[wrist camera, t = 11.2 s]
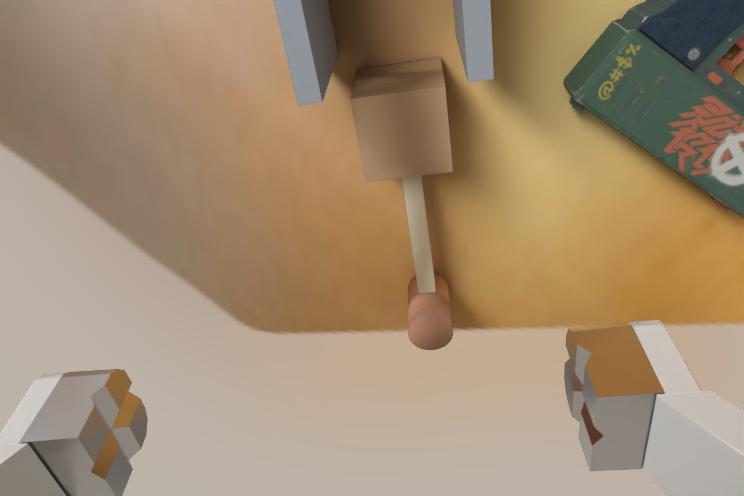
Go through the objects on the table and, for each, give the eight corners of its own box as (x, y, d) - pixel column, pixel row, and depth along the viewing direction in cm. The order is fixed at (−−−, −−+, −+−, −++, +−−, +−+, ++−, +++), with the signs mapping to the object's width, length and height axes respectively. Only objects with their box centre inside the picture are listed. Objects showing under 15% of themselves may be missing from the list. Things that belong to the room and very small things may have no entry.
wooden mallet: (397, 305, 46) (397, 352, 42) (357, 69, 36) (350, 99, 32) (463, 299, 45) (468, 347, 41) (440, 57, 35) (445, 86, 31)
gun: (936, 3, 33) (717, 202, 40) (731, -194, 29) (526, 69, 36) (985, 16, 30) (740, 227, 37) (767, -200, 26) (537, 87, 33)
